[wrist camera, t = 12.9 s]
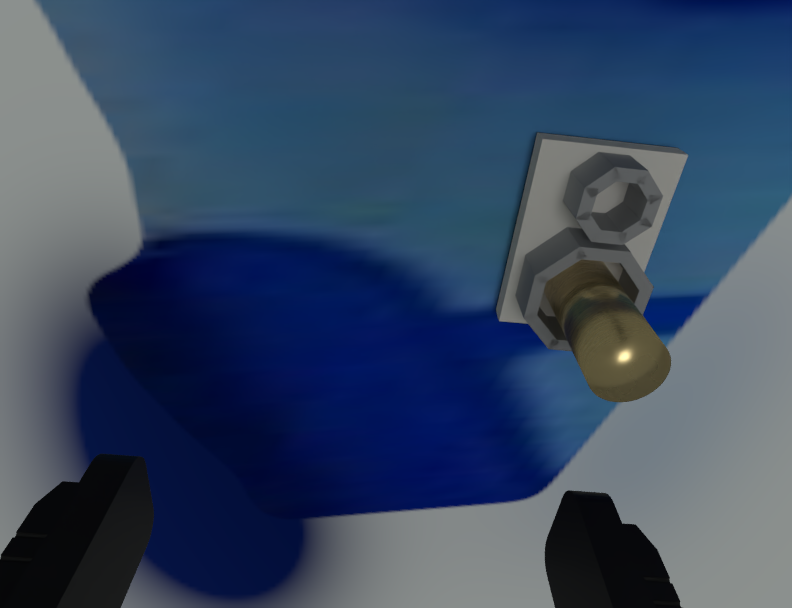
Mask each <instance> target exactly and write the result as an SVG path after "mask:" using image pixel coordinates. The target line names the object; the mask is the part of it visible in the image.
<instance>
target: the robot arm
mask: <svg viewBox="0 0 792 608" xmlns="http://www.w3.org/2000/svg"><path fill="white" fill-rule="evenodd" d="M153 518H154V510H153V503H152V497H151V492H150V486H149V480H148V474H147V468H146V463H145V460H144V458H143V457H139V456H125V455H112V454H99V455H97V456H96V457H95V458H94V459H93V461H92V462H91V464H90V465H89V467H88V469H87V470H86V472H85V473H84V475H83V477H82V478H81V480H80V482H79V483H78V482H61V483H60V484H59V485H58V486H56V487H55V488H54V489H53V490H52V491H50V492H49V493H48V494H47V495H46V496H44V497H43V498H42V499H41V500H40V501H38V502H37V503H36V504H35V505H34V506H33V508H32V510H31V511H30V513H29V514H28V515H27V517H26V518H25V520H24V521H23V523H22V524H21V526H20V527H19V529H18V530H17V534H16V536H15V538H12V539H11V541H10V542H9V544H8V545H7V547H6V548H5V550H4V551H3V553H2V554H1V559H0V608H121V605H122V603H123V601H124V598H125V596H126V593H127V591H128V589H129V587H130V583H131V582H132V579H133V577H134V575H135V573H136V570H137V568H138V566H139V563H140V561H141V559H142V556H143V554H144V552H145V549H146V547H147V544H148V542H149V539H150V535H151V530H152V526H153ZM545 566H546V572H547V577H548V581H549V585H550V589H551V593H552V597H553V601H554V605H555V608H681V606H680V600H679V598H678V595H677V593H676V591H675V589H674V586H673V584H671V583H670V581H669V578H670V577H669V575H668V573H667V571H666V568H665V566H664V564H663V562H662V560H661V557H660V555H659V553H658V551H657V549H656V548H655V547H654V545H653V544H652V543H651V542H650V541H649V540H648V539H647V537H646V536H645V535H644V534H643V533H642V532H641V530H640V529H639V528H638V527H637V526H636V525H634V524H622V522H621V520H620V517H619V515H618V513H617V510H616V508H615V505H614V503H613V501H612V499H611V497H610V496H609V495H608V494H606V493H596V492H582V491H566V492H565V494H564V496H563V498H562V500H561V503H560V506H559V508H558V511H557V514H556V516H555V519H554V521H553V524H552V527H551V529H550V532H549V534H548V537H547V541H546V546H545Z"/></svg>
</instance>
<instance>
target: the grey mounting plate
mask: <svg viewBox="0 0 792 608" xmlns="http://www.w3.org/2000/svg"><path fill="white" fill-rule="evenodd" d="M687 157H688V154H686V153H685V152H683V151H682V150H680V149H679V148H673V147H664V146H655V145H646V144H637V143H628V142H619V141H610V140H601V139H592V138H583V137H574V136H565V135H556V134H547V133H538V132H537V136H536V140H535V145H534V149H533V153H532V158H531V162H530V166H529V170H528V175H527V179H526V183H525V188H524V192H523V196H522V200H521V205H520V209H519V213H518V217H517V222H516V226H515V230H514V235H513V239H512V243H511V247H510V252H509V256H508V260H507V265H506V269H505V273H504V277H503V282H502V286H501V290H500V295H499V299H498V303H497V307H496V312H497V316H498V319H499V321H504V322H515V323H526V324H529V325H530V327H531V328H532V329H533V330H534V331H535V333H536V334H537V335H538V336H539V338H540V339H541V340H542V341H543V343H544V344H545V345H546V346H547V347H548V349H554V350H565V351H572V350H571V347H570V345H569V343H568V341H567V339H566V337H565V335H564V333H563V331H562V329H561V327H560V325H559V322H558V320H557V318H556V316H555V314H554V312H553V310H552V308H551V306H550V304H549V302H548V300H547V297H546V295H545V293H544V288H545V285H546V282H547V281H548V280H550V279H551V278H553V277H554V276H556V275H558V274H559V273H561V272H562V271H564V270H565V269H567V268H569V267H570V266H572V265H573V264H575V263H576V262H578V261H580V260H581V259H584V260H594V261H603V262H604V263H605V265H606V266H607V268H608V269H609V270H610V272H611V273H612V274H613V276H614V277H615V278H616V280H617V281H618V283H619V284H620V285H621V287H622V288H623V289H624V291H625V292H626V294H627V295H628V296H629V298H630V299H631V300H632V302H633V303H634V304H635V306H636V307H637V309H638V310H639V311H640V313H641V314H642V315H643V313H644V310H645V308H646V305H647V303H648V300H649V298H650V295H651V293H652V290H653V288H654V287H653V285H652V284H651V283H650V281H649V280H648V278H647V276H646V275H645V273H644V271H645V268H646V266H647V263H648V260H649V258H650V255H651V253H652V250H653V247H654V245H655V242H656V239H657V237H658V234H659V231H660V229H661V226H662V223H663V221H664V218H665V215H666V213H667V210H668V207H669V205H670V202H671V200H672V197H673V194H674V192H675V189H676V186H677V184H678V181H679V178H680V176H681V173H682V170H683V168H684V165H685V162H686V160H687Z"/></svg>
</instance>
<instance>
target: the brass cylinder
mask: <svg viewBox="0 0 792 608" xmlns="http://www.w3.org/2000/svg"><path fill="white" fill-rule="evenodd" d="M544 293H545V295H546V297H547V300H548V302H549V304H550V306H551V308H552V310H553V312H554V314H555V316H556V318H557V320H558V322H559V325H560V327H561V329H562V331H563V333H564V335H565V337H566V339H567V341H568V343H569V345H570V347H571V350H572V352H573V354H574V356H575V358H576V360H577V362H578V364H579V366H580V368H581V370H582V372H583V375H584V377H585V379H586V381H587V383H588V385H589V387H590V389H591V390H592V391H593V392H594V393H595V394H596V395H597V396H598V397H600V398H602V399H605V400H608V401H612V402H628V401H633V400H637V399H639V398H642V397H644V396H646V395H648V394H650V393H651V392H653V391H654V390H655V389H657V388H658V387H659V386H660V385H661V384H662V383H663V382H664V380H665V379H666V377H667V375H668V373H669V371H670V366H671V357H670V354H669V352H668V350H667V348H666V347H665V345H664V344H663V343H662V341H661V340H660V339H659V337H658V336H657V335H656V333H655V332H654V330H653V329H652V328H651V326H650V325H649V324H648V322H647V321H646V319H645V318H644V317H643V315H642V314H641V313H640V311H639V310H638V309H637V307H636V306H635V304H634V303H633V302H632V300H631V299H630V298H629V296H628V295H627V294H626V292H625V291H624V289H623V288H622V287H621V285H620V284H619V283H618V281H617V280H616V278H615V277H614V276H613V274H612V273H611V272H610V270H609V269H608V268H607V266H606V265H605V263H604V262H603V261H594V260H584V259H581V260H580V261H578V262H576V263H575V264H573V265H572V266H570V267H569V268H567V269H565V270H564V271H562V272H561V273H559V274H558V275H556V276H554V277H553V278H551V279H550V280H548V281H547V282H546V285H545V288H544Z"/></svg>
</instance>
